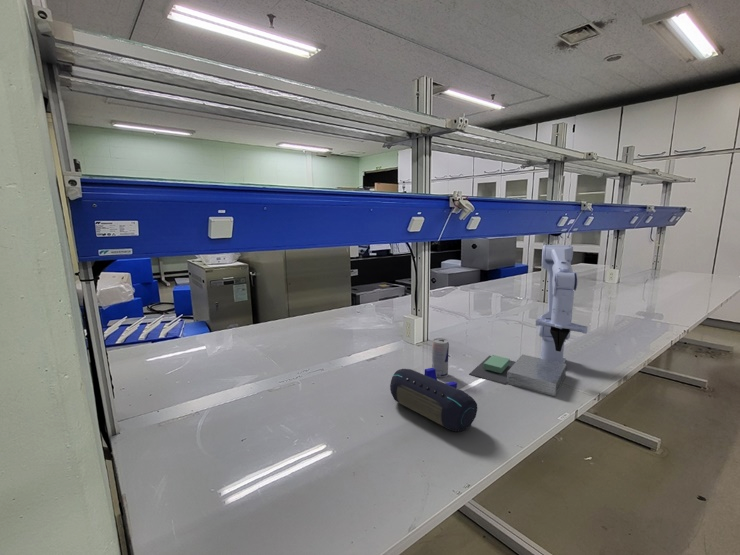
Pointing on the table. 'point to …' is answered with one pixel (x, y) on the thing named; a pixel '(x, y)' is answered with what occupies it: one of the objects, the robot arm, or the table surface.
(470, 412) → the portable speaker
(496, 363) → the thick sage green slab
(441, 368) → the energy drink
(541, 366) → the deck
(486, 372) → the mat
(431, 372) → the cable clip
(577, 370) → the table surface
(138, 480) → the table surface
